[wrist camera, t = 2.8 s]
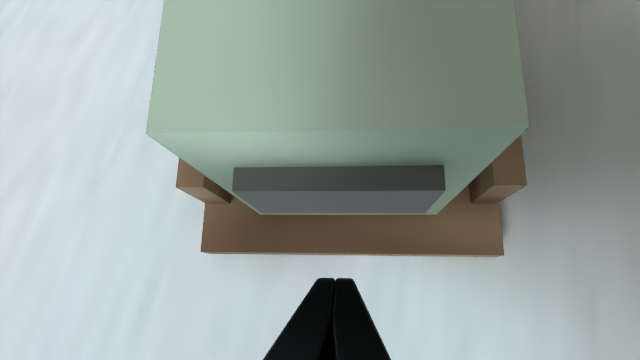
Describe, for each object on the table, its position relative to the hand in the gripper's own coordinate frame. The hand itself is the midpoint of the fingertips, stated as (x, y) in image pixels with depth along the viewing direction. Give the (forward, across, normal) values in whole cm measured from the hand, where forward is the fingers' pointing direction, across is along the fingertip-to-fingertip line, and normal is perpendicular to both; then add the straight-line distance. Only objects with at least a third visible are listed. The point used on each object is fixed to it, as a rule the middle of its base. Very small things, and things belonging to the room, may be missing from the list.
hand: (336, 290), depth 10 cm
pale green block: (+7, 0, +1) cm, 7 cm away
